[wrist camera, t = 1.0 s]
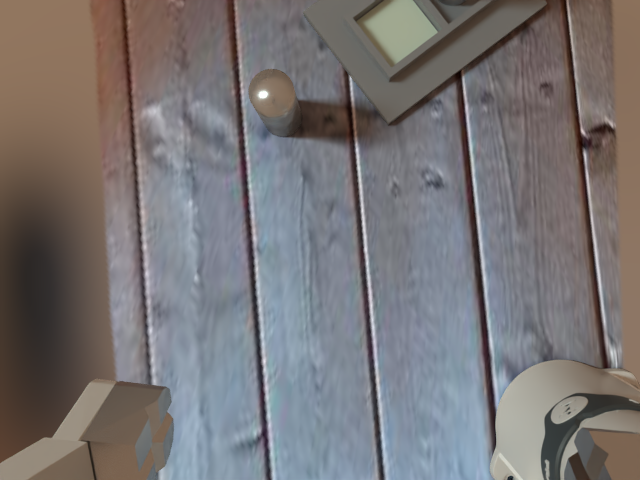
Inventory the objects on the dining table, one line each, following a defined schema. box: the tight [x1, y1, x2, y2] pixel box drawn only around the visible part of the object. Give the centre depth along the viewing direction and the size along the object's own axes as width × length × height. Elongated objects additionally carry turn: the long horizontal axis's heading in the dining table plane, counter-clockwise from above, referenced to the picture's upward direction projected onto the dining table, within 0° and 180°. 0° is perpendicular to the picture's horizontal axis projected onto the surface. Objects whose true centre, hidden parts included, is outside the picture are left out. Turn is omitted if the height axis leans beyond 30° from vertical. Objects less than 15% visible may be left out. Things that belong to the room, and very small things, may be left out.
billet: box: [249, 69, 302, 137], centre depth 58 cm, size 4×4×10 cm
